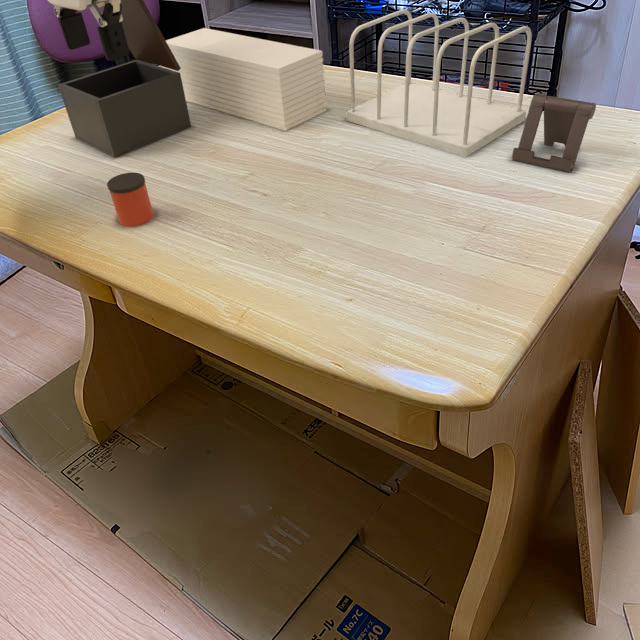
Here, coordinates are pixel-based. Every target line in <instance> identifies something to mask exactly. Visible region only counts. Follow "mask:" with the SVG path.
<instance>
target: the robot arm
mask: <svg viewBox="0 0 640 640" xmlns="http://www.w3.org/2000/svg"><path fill="white" fill-rule="evenodd" d="M46 1H47V2H48V3H50V4H51V5H52V6H53V13H54V15H55V16H56V17H57V20H58V23H59V26H60V29H61V31H62V35H63V39H64V42H65V45H66V47H67V49H69V50H70V51H73V50H76V49H79V48H83V47H85V46H89V45H91V39H90V35H89V33H88V29H87V26H86V23H85V20H84V16H83V13H82V12H81V11H85V10H86V9H87V7H88V9H89V11H90V13H91V14H92V15H93V17H94V19H95V20H96V21H97V23H98V25H99V26H96V29H97V32H98V33H97V34H98V36H99V41H100V43H101V47H102V50H103V54H104V57H105V59H106V60H107V61H109V62H113V61H116V60H118V59H121V58H123V57H127V56H129V55H130V49H129V48H128V44H127V41H126V37H125V33H124V29H123V26H122V21H123V17H122V15H121V12H122V5H121V0H46ZM100 8H103V11H102V10H101V9H100ZM78 11H79V12H78Z"/></svg>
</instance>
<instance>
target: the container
mask: <svg viewBox="0 0 640 640" xmlns="http://www.w3.org/2000/svg"><path fill="white" fill-rule="evenodd" d="M106 187H107V190H108V191H109V193H110V196H111V197H110V198H111V200H112V203H113V206H114V209H115V213H116V215H117V218H118V222H119V224H120V225H122V226H124V227H128V228H129V227H130V228H131V227H133V228H134V227H138V226H142V225H145V224H147V223H149V222H150V221H152V219H153V218H154V211H153V207H152V203H151V199H150V197H149V191H148V188H147V185H146V178H145V176H144V175H143V174H142V173H141V172H124V173H120V174H117V175H115V176H113V177H111V178H110V179H108V181H107V183H106Z"/></svg>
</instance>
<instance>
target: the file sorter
mask: <svg viewBox="0 0 640 640" xmlns="http://www.w3.org/2000/svg"><path fill="white" fill-rule="evenodd" d="M404 14H405V15H406V17H407V19H408V20H406V21H403V22H400V23H398V24H395V25H393V26H390V27H388V28H387V29H385V30H384V31H383V33H382V34H381V36H380V38H379V40H378V45H377V74H376V75H377V77H376V78H377V79H376V82H377V84H376V85H377V86H376V90H377V91H376V96H374V97H373V98H371V99H369V100H366V101H365V102H362V103H360V104H359V105H356V89H355V86H356V85H355V58H354V56H355V54H354V45H355V39H356V38H357V36H358V34H359V32H360V31H362V30H364V29H368V28H369V27H370V28H371V27H372V26H375V25H377V24H380V23H382V22H385V21H387V20H390V19H392V18H395V17H398V16H401V15H404ZM429 18H432V19H433V21H434V26H433V27H430V28H427V29H425V30H421V31H420V32H417V33H416V34H415V35H413V24H416V23H419V22H421V21H423V20H426V19H429ZM459 23H462V24H463V26H464V32H463V33H461V34H458V35H456V36H453V37H450V38H449V39H447V40H445V41H444V42H443V43H442V45H441V46H440V48H439V37H440V31H441V30H443V29H445V28H448V27H451V26H454V25H456V24H459ZM407 26H408V44H407V45H408V46H407V49H406V55H405V56H406V57H405V78H404V79H405V80H404V83H402V84H400V85H398V86H396V87H394V88H392V89H390V90H388V91H385V92H384V93H382V72H383V71H382V70H383V68H382V67H383V66H382V65H383V47H384V42H385V40H386V38H387V36H388V35H389V34H390V33H392V32H394V31H398V30H400V29H402V28H405V27H407ZM490 28H492V29H493V30H494V39H493V40H491V41H488V42H486V43H484V44H482V45H481V46H479V48H478V49H477V50H476V51H475V53H474V54H473V56H472V59H471V62H470V68H469V75H468V82H467V83H468V85H467V95H464V86H465V76H466V66H467V57H468V45H469V37H470V36H473V35H475V34H478V33H480V32H482V31H485V30H487V29H490ZM523 32H525V33H526V46H525V53H524V60H523V66H522V73H521V81H520V86H519V93H518V102H517V107H513V106H509V105H505V104H502V103H501V104H500V103H497V102H493V101H492V97H493V89H494V82H495V75H496V67H497V66H496V65H497V57H498V50H499V43H501V42H504V41H507V40H508V39H510V38H512V37H514V36H516V35H519V34H520V33H523ZM432 33H434V43H433V44H434V45H433V46H434V47H433V68H432V86H428V85H424V84H420V83H416V82H415V83H414V82H411V81H412V59H413V56H412V55H413V54H412V53H413V47H414V45H415V43H416V41H418V40H419V39H420V38H422V37H424V36H427V35H430V34H432ZM532 35H533V33H532V30H531V27H529V26H525V25H523V26H521V27H518V28H516V29H514V30H512V31H510V32H507V33H506V34H504V35H501V36H500V28H499V26H498V25H497V23H495V22H488V23H485V24H483V25H480V26H478V27H475V28H473V29H471V30H470V25H469V21H468V20H467V19H466V18H464V17H458V18H457V17H456V18H454V19H451V20H449V21H447V22H444V23H440V21H439V17H438V16H437V14H435V12H428V13H425V14H423V15H420V16H417V17H414V18H413V16H412V13H411V12H410V11H409V10H408V9H400V10H397V11H395V12H392V13H389V14H387V15H384V16H381V17H377V18H375V19H373V20H371V21H368V22H365V23H363V24H361V25H358V26H357V27H356V28H355V29H354V30H353V31H352V33H351V36H350V39H349V46H348V47H349V49H348V50H349V74H350V75H349V78H350V79H349V80H350V105H351V106H350V109H348V110H347V111H345V112H346V115H345V117H346V121H347V122H349V123H353V124H356V125H360V126H363V127H366V128H368V129H372V130H376V131H379V132H382V133H386V134H389V135H392V136H395V137H398V138H402V139H406V140H408V141H411V142H415V143H419V144H422V145H425V146H429V147H432V148H436V149H439V150H442V151H445V152H449V153H452V154H455V155H459V156H462V157H469V156H470V155H472V154H474V153H475V152H477V151H478V150H480V149H481V148H483V147H485V146H487V145H488V144H490V143H491V142H493V141H494V140H496V139H497V138H499V137H501V136H502V135H504V134H506V133H507V132H509V131H511V130H512V129H513V128H515V127H517V126H518V125H520V124H521V123H524V122H526V118H527V110H525V109H522V108H523V107H522V106H523V100H524V93H525V86H526V80H527V74H528V69H529V68H528V66H529V61H530V53H531V47H532V38H533V37H532ZM463 39H464V40H463ZM461 40H463V50H462V60H461V70H460V81H459V92H458V93H456V92H453V91H449V90H444V89H441V88H440V77H441V64H442V63H441V61H442V58H443V54H444V52H445V50H446V48H448V46H450V45H451V44H453V43H456V42H458V41H461ZM491 47H493V51H492V59H491V67H490V76H489V78H490V79H489V85H488V92H487V100H485V99H481V98H477V97H473V86H474V79H475V70H476V69H475V68H476V65H477V61H478V59H479V57H480V55H481V54H482V53H483V52H484V51H486V50H488V49H489V48H491Z"/></svg>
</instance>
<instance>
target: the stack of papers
mask: <svg viewBox="0 0 640 640" xmlns="http://www.w3.org/2000/svg"><path fill="white" fill-rule="evenodd" d="M165 41H166V42H167V44H168V46H169V48H170V50H171V51H172V53H173V55H174V57H175V59H176V60H177V62H178V64H179V66H180V68H181V69H180V70H179V71H176V70H173V69H169V68H167V69H169V70H172V71H176V72H179V73H180V75H181V80H182V84H183V89H184V94H185V99H186V102H189V103H193V104H196V105H200V106H201V107H206V108H209V109H212V110H216V111H219V112H223V113H226V114H229V115H232V116H235V117H239V118H242V119H246V120H249V121H252V122H256V123H259V124H262V125H265V126H269V127H271V128H275V129H279V130H283V131H285V132H286V131H288V130H290V129H292V128H294V127H296V126H298V125H300V124H303V123H304V122H306V121H308V120H310V119H312V118H315V117H316V116H319V115H321V114H323V113H325V112H327V107H326V106H327V102H326V101H327V100H326V91H325V90H326V86H325V80H324V79H325V74H324V73H325V72H324V63H323V62H324V58H323V56H324V55H323V50H320V49H315V48H310V47H304V46H300V45H299V46H298V45H294V44H290V43H283V42H279V41H273V40H270V39H269V40H268V39H262V38H259V37H253V36H247V35H243V34H237V33H232V32H228V31H222V30H217V29H211V28H205V27H202V28H200V29H197V30H194V31H191V32H188V33H185V34H181V35H178V36H175V37H173V38H169V39H165Z"/></svg>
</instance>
